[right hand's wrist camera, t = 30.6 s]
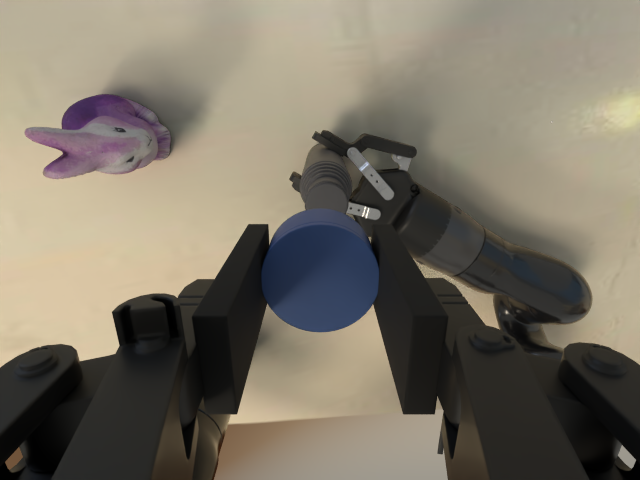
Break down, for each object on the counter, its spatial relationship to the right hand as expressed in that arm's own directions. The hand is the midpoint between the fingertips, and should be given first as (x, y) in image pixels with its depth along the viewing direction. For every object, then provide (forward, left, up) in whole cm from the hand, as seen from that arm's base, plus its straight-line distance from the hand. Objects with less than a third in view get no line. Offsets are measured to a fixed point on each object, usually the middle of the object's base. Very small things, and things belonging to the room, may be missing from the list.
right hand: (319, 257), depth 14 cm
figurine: (-14, +18, -32) cm, 40 cm away
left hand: (-1, +2, -26) cm, 26 cm away
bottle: (0, -1, -32) cm, 32 cm away
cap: (0, 0, +2) cm, 2 cm away
